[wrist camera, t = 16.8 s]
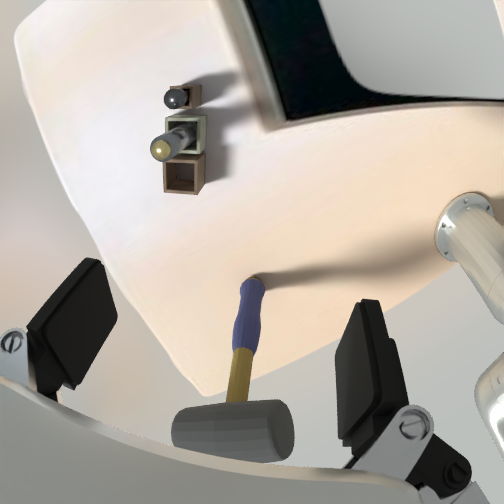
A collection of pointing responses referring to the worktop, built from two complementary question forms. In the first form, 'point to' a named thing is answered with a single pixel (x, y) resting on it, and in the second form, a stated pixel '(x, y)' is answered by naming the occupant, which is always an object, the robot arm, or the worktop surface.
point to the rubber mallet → (239, 402)
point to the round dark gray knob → (176, 98)
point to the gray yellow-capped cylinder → (173, 141)
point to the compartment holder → (187, 149)
